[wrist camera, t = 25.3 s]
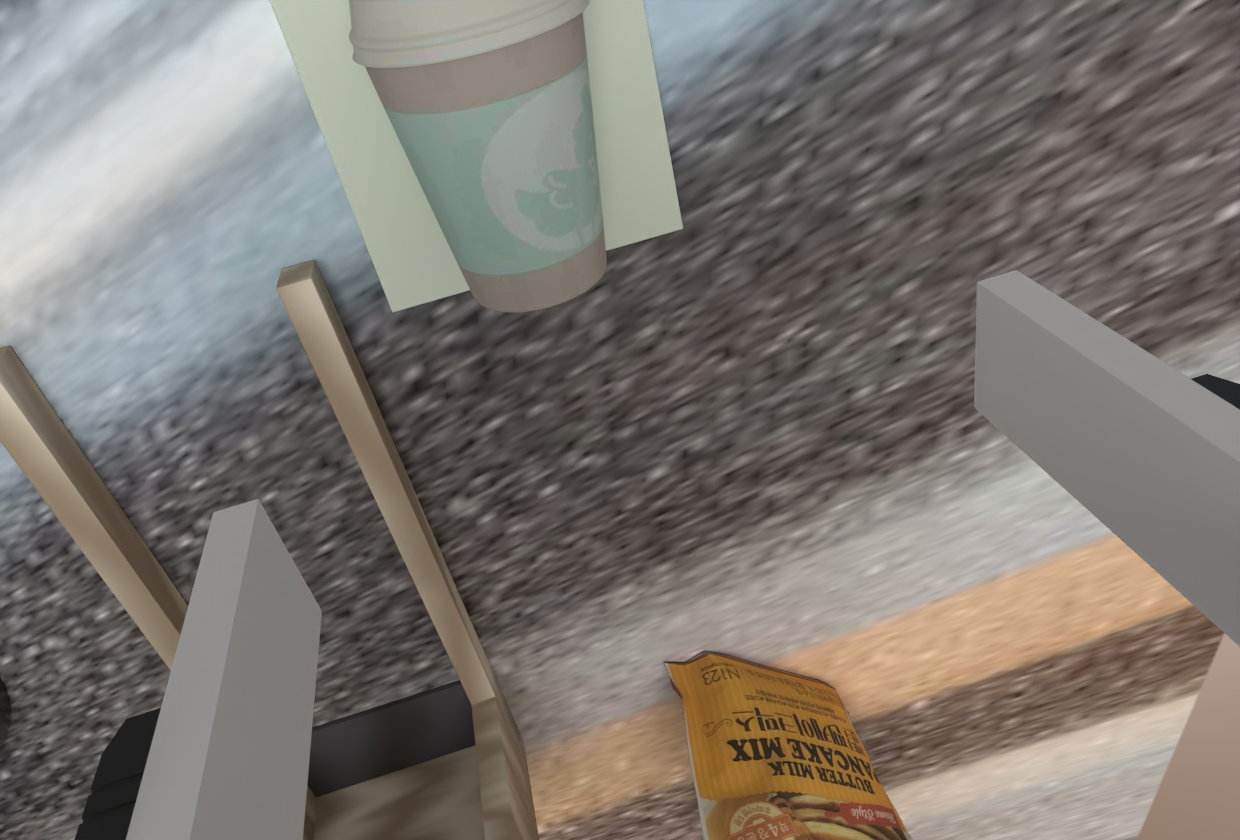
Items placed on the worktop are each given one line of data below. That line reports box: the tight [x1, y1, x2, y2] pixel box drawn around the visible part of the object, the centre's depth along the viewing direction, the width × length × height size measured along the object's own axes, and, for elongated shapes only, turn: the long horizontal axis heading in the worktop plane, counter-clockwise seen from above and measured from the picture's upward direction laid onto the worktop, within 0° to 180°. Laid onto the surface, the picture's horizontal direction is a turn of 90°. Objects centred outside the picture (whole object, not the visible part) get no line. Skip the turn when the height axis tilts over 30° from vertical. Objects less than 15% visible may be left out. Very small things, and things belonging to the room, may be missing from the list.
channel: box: [0, 260, 539, 840], centre depth 39 cm, size 15×36×22 cm, turn 12°
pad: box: [270, 0, 683, 312], centre depth 37 cm, size 14×14×1 cm
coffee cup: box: [349, 0, 607, 312], centre depth 34 cm, size 9×9×12 cm
